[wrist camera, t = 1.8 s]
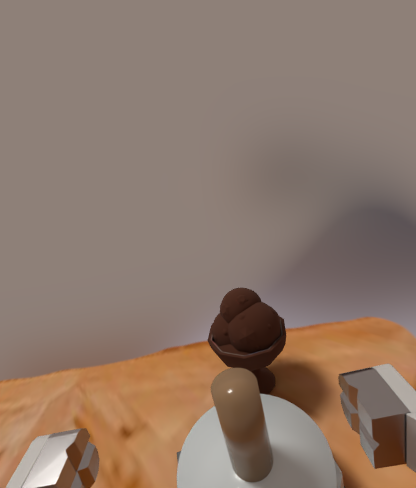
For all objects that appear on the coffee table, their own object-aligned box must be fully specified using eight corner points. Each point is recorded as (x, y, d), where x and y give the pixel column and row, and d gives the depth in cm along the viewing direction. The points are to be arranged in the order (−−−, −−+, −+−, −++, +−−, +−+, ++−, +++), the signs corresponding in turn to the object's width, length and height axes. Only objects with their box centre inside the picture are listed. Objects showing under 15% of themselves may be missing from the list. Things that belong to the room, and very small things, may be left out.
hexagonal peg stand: (206, 645, 20) (150, 523, 16) (182, 452, 34) (148, 357, 30) (381, 562, 22) (375, 432, 18) (292, 410, 36) (276, 315, 32)
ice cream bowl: (207, 390, 43) (182, 306, 38) (251, 347, 50) (235, 271, 45) (265, 430, 35) (243, 330, 30) (307, 372, 42) (295, 283, 37)
